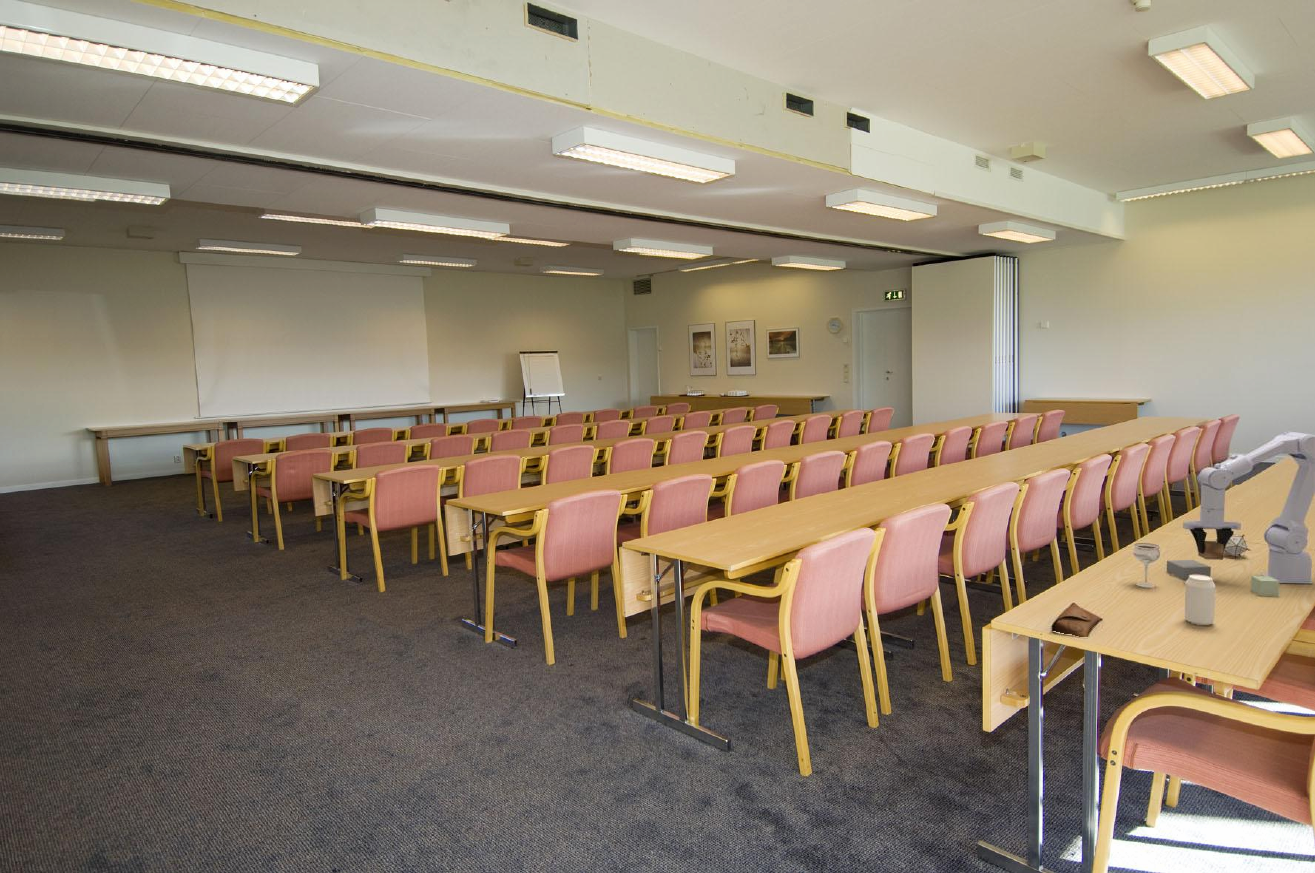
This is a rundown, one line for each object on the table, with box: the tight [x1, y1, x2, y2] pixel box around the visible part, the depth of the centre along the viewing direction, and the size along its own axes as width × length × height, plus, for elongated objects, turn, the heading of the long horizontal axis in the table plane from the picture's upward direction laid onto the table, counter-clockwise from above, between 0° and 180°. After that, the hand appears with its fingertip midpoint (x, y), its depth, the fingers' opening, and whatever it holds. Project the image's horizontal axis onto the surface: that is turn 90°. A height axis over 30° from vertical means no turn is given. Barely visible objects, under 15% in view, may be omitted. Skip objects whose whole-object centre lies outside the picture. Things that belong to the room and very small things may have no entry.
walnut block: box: [1197, 540, 1224, 561], centre depth 227 cm, size 4×4×4 cm
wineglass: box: [1132, 542, 1161, 589], centre depth 225 cm, size 7×7×12 cm
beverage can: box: [1184, 575, 1216, 626], centre depth 194 cm, size 6×6×12 cm
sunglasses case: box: [1051, 602, 1103, 638], centre depth 196 cm, size 18×7×7 cm, turn 139°
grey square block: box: [1166, 559, 1212, 581], centre depth 233 cm, size 8×8×4 cm
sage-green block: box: [1250, 575, 1280, 597], centre depth 214 cm, size 4×4×4 cm
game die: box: [1215, 533, 1252, 560], centre depth 250 cm, size 9×8×10 cm
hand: (1210, 552), depth 227 cm, fingers closed on walnut block, 4 cm apart
